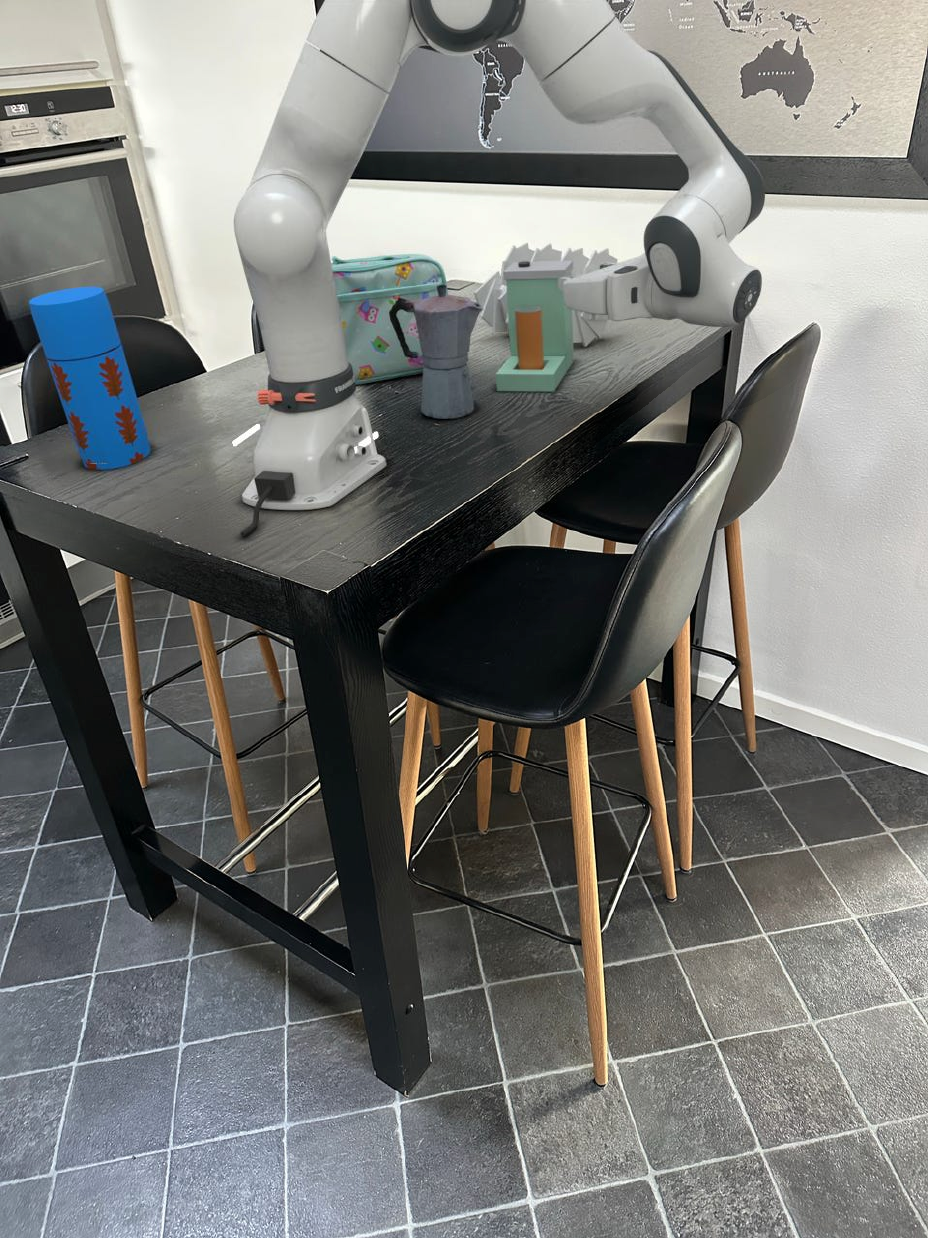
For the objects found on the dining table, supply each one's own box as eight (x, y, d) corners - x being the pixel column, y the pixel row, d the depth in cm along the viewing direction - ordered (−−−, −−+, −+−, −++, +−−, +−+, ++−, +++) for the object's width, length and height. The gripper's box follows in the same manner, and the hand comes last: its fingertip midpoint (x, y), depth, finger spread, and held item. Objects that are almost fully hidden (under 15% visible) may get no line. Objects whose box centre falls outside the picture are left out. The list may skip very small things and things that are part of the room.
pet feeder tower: (567, 372, 160) (564, 265, 151) (509, 372, 164) (503, 267, 154) (575, 360, 166) (573, 256, 156) (519, 360, 169) (513, 258, 159)
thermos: (112, 474, 139) (58, 307, 126) (68, 464, 144) (11, 303, 131) (165, 448, 146) (120, 287, 133) (121, 440, 152) (74, 284, 138)
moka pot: (486, 420, 144) (475, 290, 133) (392, 422, 147) (375, 294, 136) (496, 400, 152) (487, 275, 141) (407, 401, 155) (392, 279, 144)
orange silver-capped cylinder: (541, 386, 156) (538, 311, 149) (516, 385, 157) (512, 311, 150) (547, 377, 159) (544, 304, 152) (522, 377, 160) (518, 304, 154)
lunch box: (314, 394, 163) (291, 269, 152) (310, 377, 172) (288, 258, 160) (459, 371, 166) (447, 247, 155) (448, 356, 175) (436, 238, 164)
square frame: (553, 391, 153) (553, 374, 151) (496, 391, 156) (495, 373, 154) (566, 372, 161) (565, 355, 159) (511, 372, 163) (510, 355, 162)
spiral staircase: (517, 347, 190) (621, 355, 175) (464, 330, 176) (572, 337, 161) (532, 255, 186) (639, 255, 172) (479, 231, 173) (590, 229, 158)
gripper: (699, 246, 135) (626, 240, 144) (608, 277, 124) (535, 268, 133) (697, 290, 138) (626, 281, 147) (608, 324, 127) (537, 312, 136)
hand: (582, 275), depth 140 cm, fingers open, 8 cm apart
